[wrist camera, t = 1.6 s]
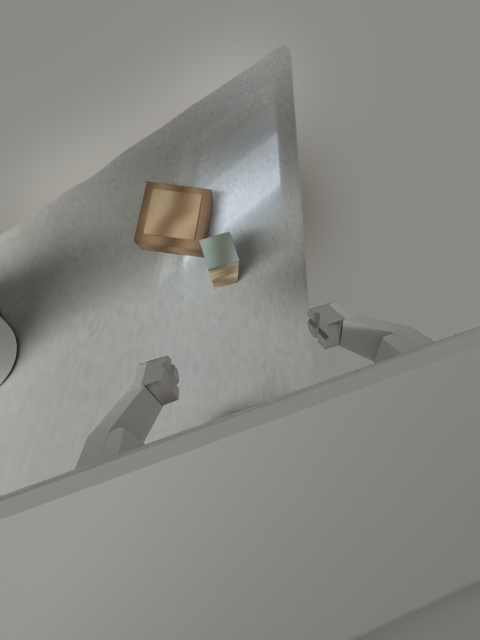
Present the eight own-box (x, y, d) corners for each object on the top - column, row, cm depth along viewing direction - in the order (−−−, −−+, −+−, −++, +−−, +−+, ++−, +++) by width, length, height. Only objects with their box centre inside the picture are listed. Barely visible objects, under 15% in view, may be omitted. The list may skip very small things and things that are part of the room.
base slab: (141, 249, 36) (133, 239, 33) (153, 194, 38) (146, 180, 35) (204, 257, 36) (201, 248, 33) (212, 202, 38) (211, 189, 35)
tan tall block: (214, 289, 35) (208, 269, 26) (207, 267, 36) (199, 240, 27) (237, 282, 36) (239, 260, 27) (230, 260, 36) (229, 231, 27)
